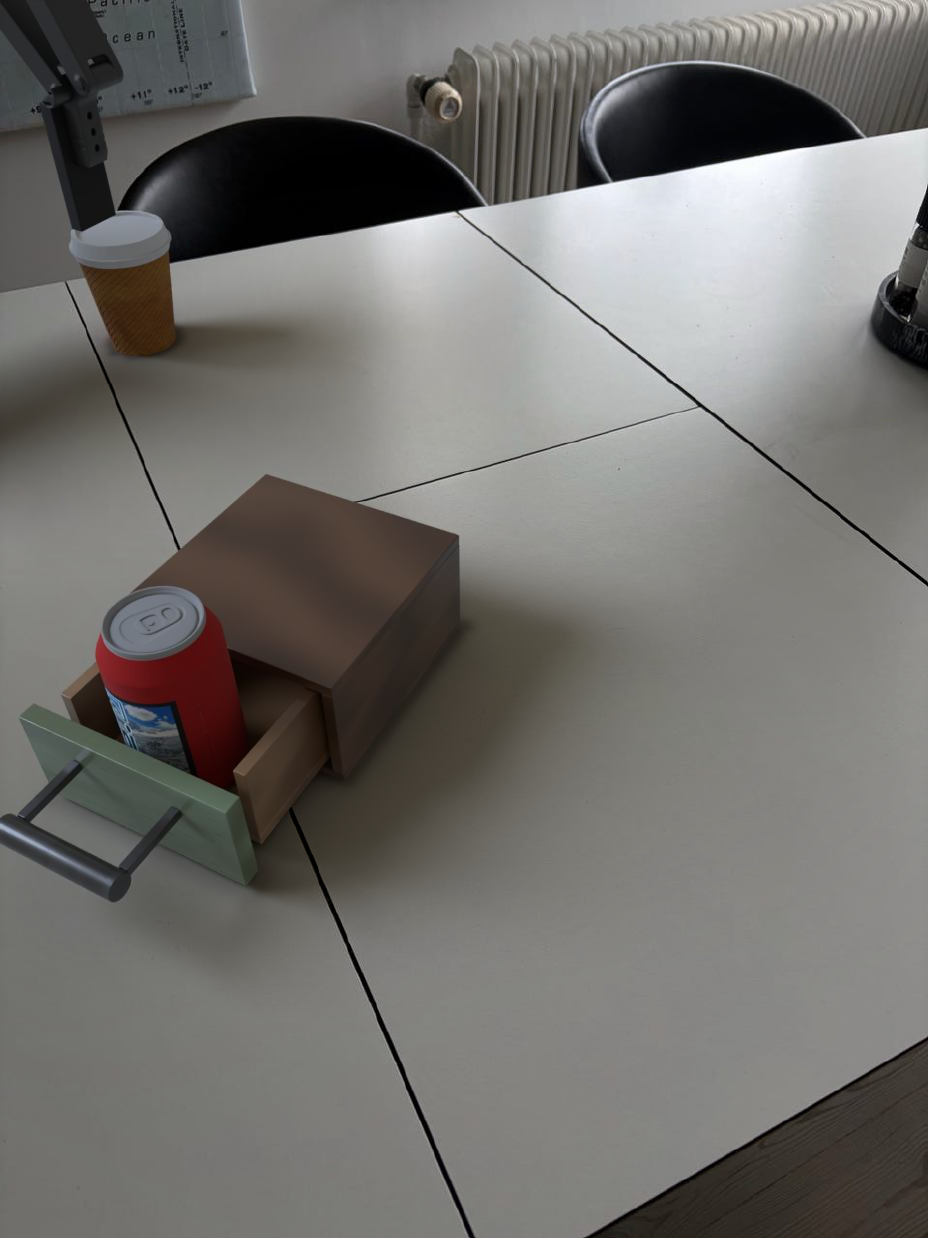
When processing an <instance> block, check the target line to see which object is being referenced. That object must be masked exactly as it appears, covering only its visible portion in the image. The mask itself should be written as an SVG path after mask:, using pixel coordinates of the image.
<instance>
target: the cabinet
mask: <svg viewBox="0 0 928 1238" xmlns="http://www.w3.org/2000/svg"><path fill="white" fill-rule="evenodd" d="M460 558H461V556H460V535H459V534H457V533H454V532H452V531H447V530H445V529H441V528H438V527H435V526H431V525H430V524H425V523H422V522H420V521H417V520H413V519H410V518H407V517H404V516H400V515H397V514H394V513H392V512H387V511H385V510H381V509H378V508H375V507H371V506H369V505H365V504H363V503H360V502H356V501H353V500H351V499H350V500H349V499H347V498H343V497H340V496H337V495H334V494H331V493H327V492H324V491H321V490H318V489H315V488H312V487H309V486H306V485H302V484H300V483H296V482H292V481H289V480H287V479H283V478H280V477H277V476H274V475H272V474H271V475H270V474H267V473H265V474H264V475H263V476H262V477H260V478H259V480H257V481H256V482H255V483H254V484H253V485H252V486H251V487H250V488H248V489H247V490H246V491H244V492H243V493H242V494H241V495H240V496H239V497H238V498H237V499H236V500H234V501H233V502H232V503H231V504H229V506H228V507H226V508H225V509H224V510H223V511H221V513H220V514H218V515H217V516H216V517H215V518H214V519H213V520H211V522H209V523H208V524H207V525H206V526H204V528H202V529H201V530H200V531H199V532H197V534H196V535H194V536H193V537H192V538H191V539H190V540H188V541H187V543H185V544H184V545H183V546H182V547H181V548H180V549H179V550H177V551H176V552H175V553H174V554H173V555H171V556H170V557H169V558H168V559H167V560H166V561H165V562H163V564H161V565H160V566H159V567H158V568H156V570H155V571H153V572H152V573H151V574H150V575H149V576H148V577H147V578H145V579H144V580H143V581H142V582H141V583H140V584H139V585H138V586H137V587H135V588H134V589H132V591H130V593H129V594H131V593H133V592H135V591H138V590H141V589H145V588H149V587H156V586H172V587H178V588H182V589H185V590H188V591H190V592H192V593H193V594H195V595H196V596H197V597H198V598H199V599H200V600H201V602H202V604H203V605H204V606H206V607H207V608H208V609H209V610H211V611H212V612H213V613H214V614H215V615H216V616H217V618H218V619H219V621H220V623H221V625H222V628H223V632H224V636H225V640H226V644H227V648H228V652H229V656H230V657H232V658H234V659H237V660H239V661H242V662H244V663H247V664H249V665H252V666H254V667H257V668H259V669H262V670H264V671H267V672H269V673H272V674H275V675H277V676H280V677H282V678H285V679H287V680H290V681H292V682H295V683H297V684H300V685H302V686H305V687H307V688H310V689H312V690H315V691H317V692H320V693H322V694H321V695H322V701H323V708H324V715H325V721H326V728H327V735H328V741H329V748H330V755H331V756H330V757H329V759H328V760H327V761H326V763H325V764H324V765H323V766H322V768H321V769H320V770H319V771H321V772H323V773H326V774H328V775H330V776H333V777H335V778H338V779H339V780H342V781H345V780H346V779H347V777H348V776H349V775H350V774H351V772H352V771H353V770H354V768H355V766H356V765H358V763H359V761H360V760H361V759H362V758H363V756H364V755H365V754H366V752H367V751H368V750H369V748H370V747H371V746H372V744H373V743H374V741H376V739H377V738H378V736H379V735H380V733H381V732H382V731H383V730H384V728H385V727H386V726H387V724H388V723H389V722H390V720H391V719H392V718H393V717H394V715H395V714H396V712H397V711H398V710H399V708H400V707H401V706H402V704H403V703H405V701H406V699H407V698H408V696H410V695H411V693H412V691H413V690H414V688H415V687H416V686H417V684H418V683H419V681H420V680H421V679H422V678H423V677H424V675H425V674H426V673H427V671H428V670H429V669H430V668H431V666H432V665H433V663H434V662H435V661H436V659H437V658H438V656H439V655H440V654H441V653H442V651H443V650H444V649H445V648H446V646H447V644H448V643H449V642H450V641H451V639H452V638H453V637H454V635H455V634H456V633H457V632H458V630H459V629H460V627H461V567H460V565H461V564H460V562H461V560H460Z"/></svg>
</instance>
